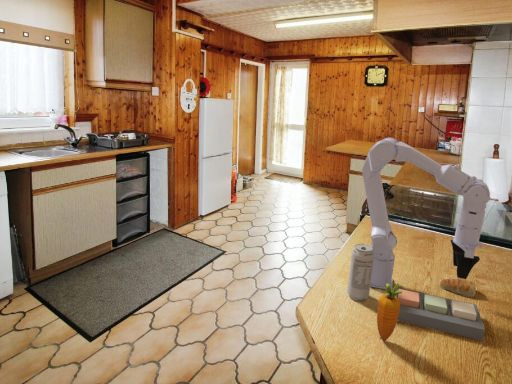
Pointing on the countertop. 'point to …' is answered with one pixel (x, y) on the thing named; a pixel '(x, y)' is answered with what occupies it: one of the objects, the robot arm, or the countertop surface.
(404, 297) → the terracotta button
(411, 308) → the panel
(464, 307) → the cream button
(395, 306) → the carrot
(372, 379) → the countertop surface
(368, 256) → the energy drink can
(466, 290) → the pastry
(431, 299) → the sage button
